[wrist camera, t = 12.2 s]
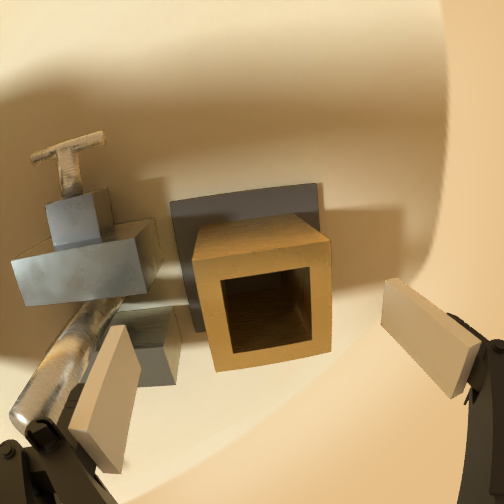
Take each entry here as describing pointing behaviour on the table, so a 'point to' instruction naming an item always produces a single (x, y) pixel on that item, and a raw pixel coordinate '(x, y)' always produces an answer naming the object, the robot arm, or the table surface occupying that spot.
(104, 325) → the vise
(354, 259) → the table surface
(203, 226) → the open wooden box
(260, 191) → the mat
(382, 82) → the table surface
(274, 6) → the table surface
